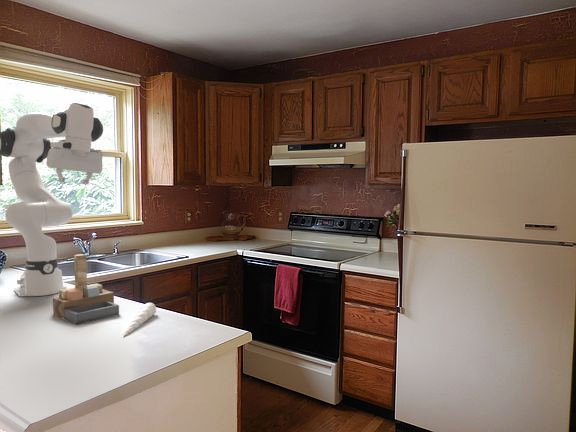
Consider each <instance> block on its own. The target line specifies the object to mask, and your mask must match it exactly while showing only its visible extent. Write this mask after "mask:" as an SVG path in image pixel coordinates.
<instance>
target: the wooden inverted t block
mask: <svg viewBox="0 0 576 432" xmlns="http://www.w3.org/2000/svg"><path fill="white" fill-rule="evenodd" d="M73 263H74V266H73V267H74V287H69V288H66V289H63V290H59V293H58V297H60V298H63V299H66V290H71V289H77V288H78V289H81V290H83V287H88V286H97V287H99V292H102V289H103V284H100V283H92V284H88V274H87V273H88V271H87V269H88V267H87V254H83V253H80V254H74V255H73Z"/></svg>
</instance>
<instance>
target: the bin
mask: <svg viewBox="0 0 576 432" xmlns="http://www.w3.org/2000/svg"><path fill="white" fill-rule="evenodd" d="M64 313H65V319H64V320H65V321H67V322H70V323H72V324H74V325H76V326H77V325H83V324H87V323H89V322H90V323H91V322H95V321H98V320H103V319H107V318H111V317H112V318H113V317H115V316H119V315H120V304H118V303H117V304H116V303H115V302H114V303H111V302H109V301H103V302H98V303H93V304H89V305H84V306H79V307H74V308H69V309H65V310H64Z"/></svg>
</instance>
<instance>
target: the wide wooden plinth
mask: <svg viewBox="0 0 576 432" xmlns="http://www.w3.org/2000/svg"><path fill="white" fill-rule="evenodd" d="M114 295H115V293H114V291H110V290H107V289H103V288H102V292H99V295H98V296H93V297H86V296H83V299H78V300H73V301H71V300H68V299H63V298H60V297H59V296H55V297H52V313H53V314H52V315H53V316H55V317H58V318H61V319H63V320H65V313H64V310H65V309H69V308H74V307H79V306H84V305H89V304H93V303H98V302H103V301H109V302H111V303H114V304H115V296H114Z"/></svg>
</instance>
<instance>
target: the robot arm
mask: <svg viewBox="0 0 576 432" xmlns="http://www.w3.org/2000/svg"><path fill="white" fill-rule="evenodd" d="M15 124H16V125H15V128H14V129H11V128H10V127H7V128H6V129H5V130H3V131H0V154H1V155H0V156H1V157H2V156H3V157H5V158H9V157H11V158H12V159H11V160H10V161H9V163H8V172H9V173H8V174H9V178H10V180H11V183H12V186H13V188H14V192H15V194H16V196H17V197H18V199H19V200H21V202H16V203H11V204H9V206H8V207H7V208H6V210H5V220H6V222H7V224H8V225H10V226H11V228H13V229H15V230H16V231H17V232H19V234H20V235H21V236H22V238H23V239H24V242H25V248H26V261H25V270H24V272H23V273H22V274H21V276H20V277H19V278H18V279H16V282H17V285H20V286H17V287H14V289H13V290H14V292H15V293H16V295H17V297H42V296H43V297H44V296H50V295H53V294H59V290H63V289H67V286H66V285H64V282H63V280H64V279H63V272H62V270H61V269H59V259H58V257H57V256H58V255H57V242H56V240H55V238H53V237H52V236H50V235H47V234H45V233H44V232H43V228H48V227H59V226H63V225H66V224H69V223H70V221H71V220H72V218H73V209H72V207H71V205H70V204H69V203H68V202H66V201H64V200H61V199H59V198H58V197H56V196H55V195H54V194H52V193H51V192H50V191H49V190H48V189H47V188H46V186H45V183H44V182H43V180H42V178H41V175H40V173H39V171H38V169H37V166H36V164H40V163H43V161H44V160H45V159H46V167H47V168H50V169H55V170H56V171H55V173H56V174H57V176H58V177H57V178H58V182H59V183H65V181H66V177H64V176H63V174H62V173H64V170H65V171H66V170H67V171H74V172H82V173H83V172H84V173H86V174H85V175H86V177H85V179H84V178H83V179H82V184H83V185H89V183H90V180H91V178H92V177H93V175H94V174H98V175H99V174H101V173H102V172H103V156H104V155H103V153H102V151H101V150H99V149H94V148H91V147H92V143H94V142H95V141H97V140H99V139H100V138H101V137H102V136H103V133H104V126H103V124H102V121H101V120H100V119H99V118H98V116H94V108H93V106H91V105H89V104H86V103H82V102H78V101H71V102H70V104H69V106H68V107H67V108H65V109H63V110H58V111H56V112H55V113H54V114H53V115H51V114H48V113H44V112H39V111H38V112H37V111H35V112H29V113H25V114H23V115H22V116H20V117H19V118H17V121H16V122H15ZM54 138H56V139H57V138H64V139H60V140H52V141H51V140H50V139H54Z"/></svg>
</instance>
